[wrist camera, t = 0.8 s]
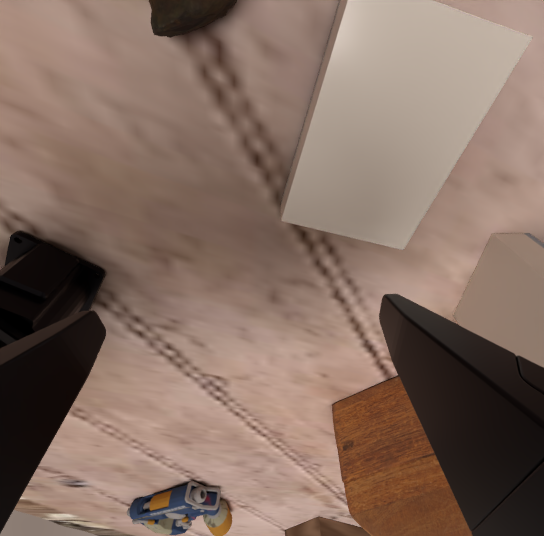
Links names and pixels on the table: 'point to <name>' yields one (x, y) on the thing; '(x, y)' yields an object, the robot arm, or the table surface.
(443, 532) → the wooden box
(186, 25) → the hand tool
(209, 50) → the table surface
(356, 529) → the wooden tray
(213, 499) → the spray gun
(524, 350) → the white rectangular block
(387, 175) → the flat tile
